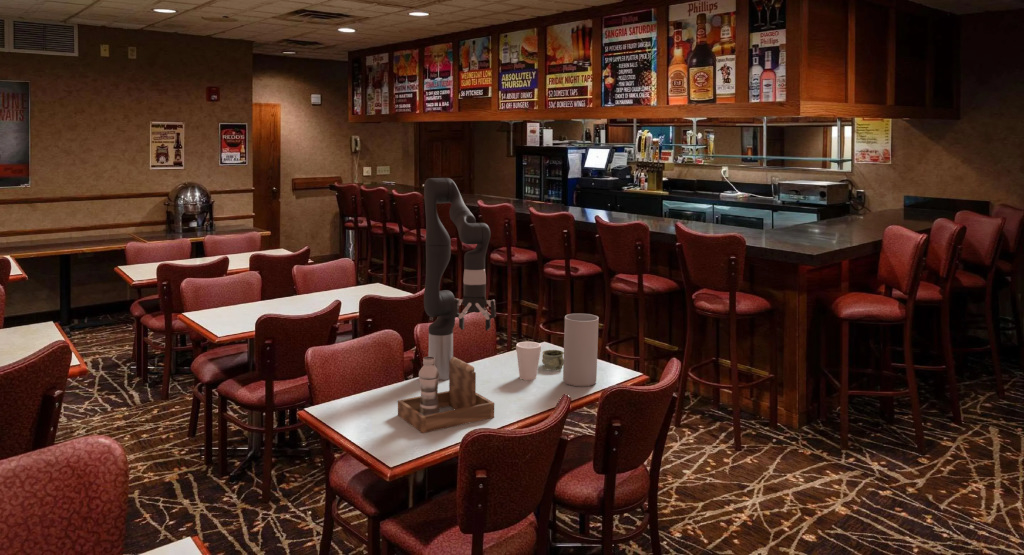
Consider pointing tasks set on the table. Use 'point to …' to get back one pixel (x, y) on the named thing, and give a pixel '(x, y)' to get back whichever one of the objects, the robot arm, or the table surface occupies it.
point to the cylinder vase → (580, 349)
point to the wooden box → (450, 402)
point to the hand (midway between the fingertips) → (474, 329)
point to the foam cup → (528, 359)
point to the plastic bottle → (429, 387)
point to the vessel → (553, 359)
